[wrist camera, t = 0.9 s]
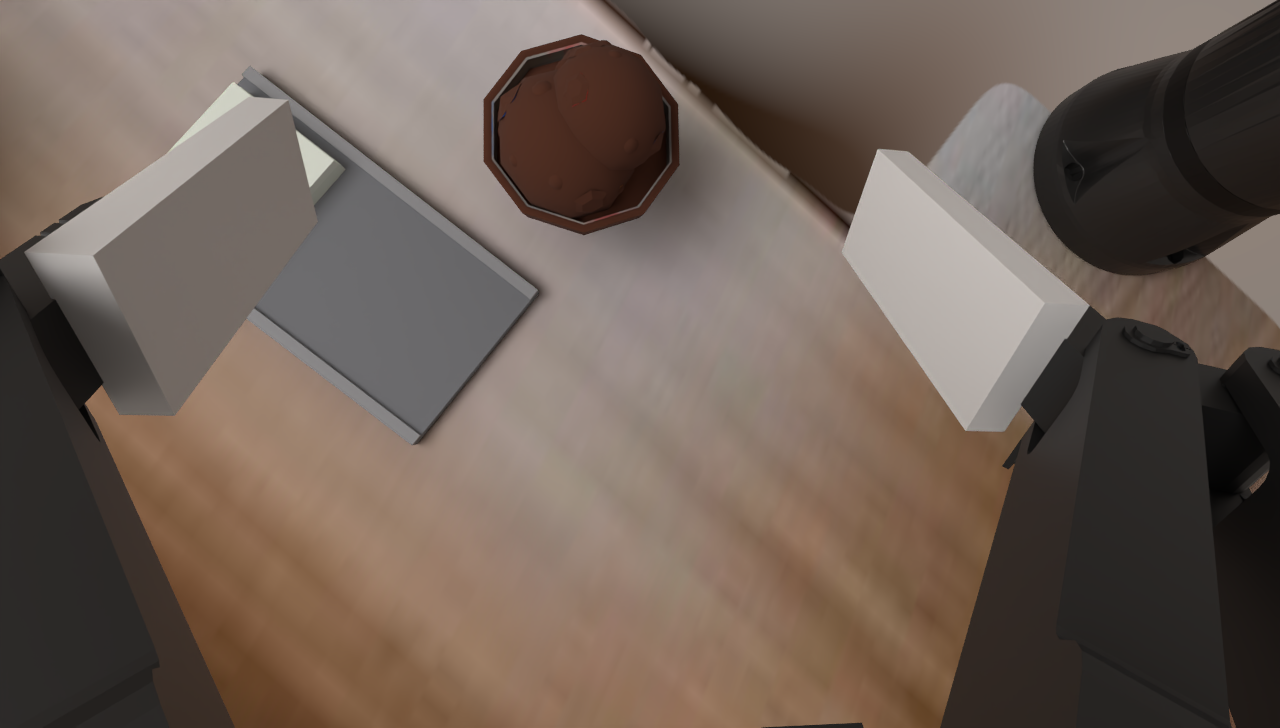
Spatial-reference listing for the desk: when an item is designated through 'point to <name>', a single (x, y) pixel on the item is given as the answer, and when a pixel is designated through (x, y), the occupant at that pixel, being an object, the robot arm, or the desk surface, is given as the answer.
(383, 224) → the tray
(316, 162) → the pale green flat block
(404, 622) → the desk surface
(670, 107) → the ice cream bowl
